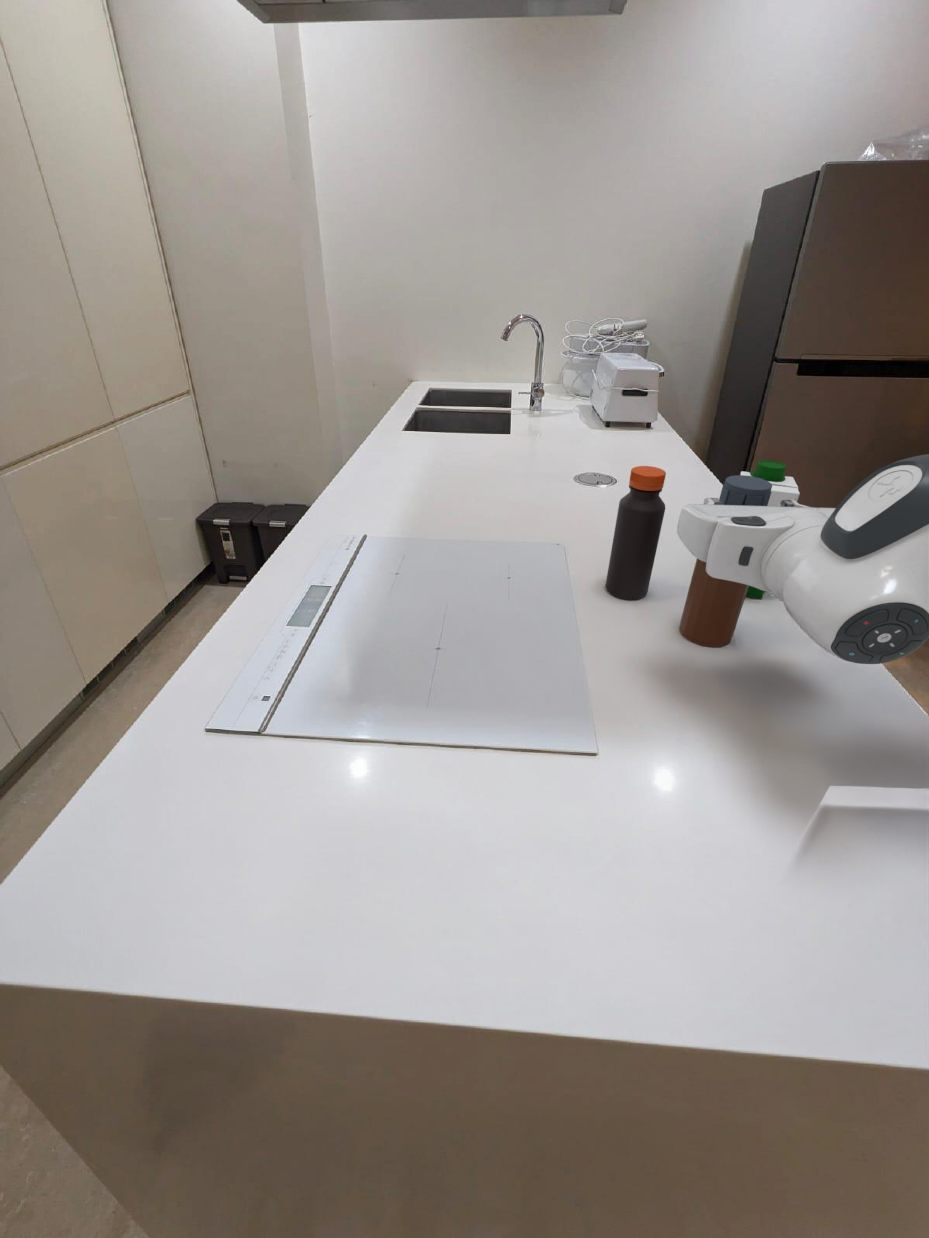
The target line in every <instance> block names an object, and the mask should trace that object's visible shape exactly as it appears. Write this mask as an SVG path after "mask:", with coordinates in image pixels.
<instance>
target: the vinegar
mask: <svg viewBox="0 0 929 1238" xmlns="http://www.w3.org/2000/svg"><path fill="white" fill-rule="evenodd" d="M666 475H667V472H666V471H665V470H664V469H662V468H659V467H656V466H652V465H651V466H650V465H637V466H634V467H632V468H631V470H630V475H629V481H628V488H629V492H628V493H627V494H626V495H624V496H623V497H621V499H620V500H619V502H618V508H617V514H616V520H615V526H614V532H613V538H612V545H611V551H610V556H609V562H608V569H607V574H606V575H607V576H606V580H605V589H606V591H607V592H608V593H609V594H610V595H612V596H613V597H616V598H619V599H622V600H639V599H642V598H644V597H646V595H647V594H648V591H649V587H650V583H651V578H652V574H653V568H654V562H655V559H656V554H657V549H658V546H659V545H658V544H659V540H660V536H661V530H662V527H663V526H662V525H663V522H664V518H665V517H664V516H665V511H666V503H665V502H664V500H663V499H662V498H661V496H660V493H662V491H663V488H664V484H665V480H666Z"/></svg>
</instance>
